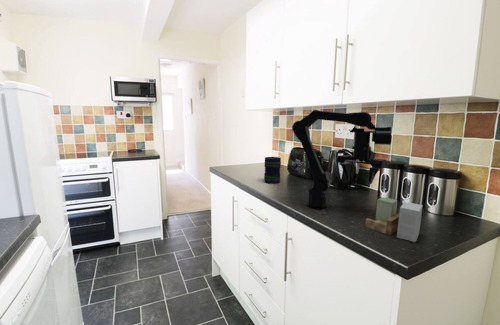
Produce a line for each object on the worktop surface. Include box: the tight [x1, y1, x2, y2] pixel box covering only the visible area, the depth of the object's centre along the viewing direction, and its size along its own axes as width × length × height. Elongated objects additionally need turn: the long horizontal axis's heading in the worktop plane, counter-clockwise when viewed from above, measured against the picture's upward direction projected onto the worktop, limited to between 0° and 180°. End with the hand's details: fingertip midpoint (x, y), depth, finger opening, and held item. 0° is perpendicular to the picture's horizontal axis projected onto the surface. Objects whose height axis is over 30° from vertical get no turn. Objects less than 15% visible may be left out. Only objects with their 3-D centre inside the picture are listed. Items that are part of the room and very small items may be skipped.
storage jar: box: [263, 156, 282, 185], centre depth 158 cm, size 10×10×15 cm
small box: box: [396, 201, 423, 243], centre depth 86 cm, size 8×6×10 cm
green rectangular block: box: [375, 196, 398, 222], centre depth 94 cm, size 5×5×10 cm
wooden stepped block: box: [365, 212, 399, 236], centre depth 94 cm, size 8×12×5 cm
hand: (359, 181), depth 106 cm, fingers open, 9 cm apart
